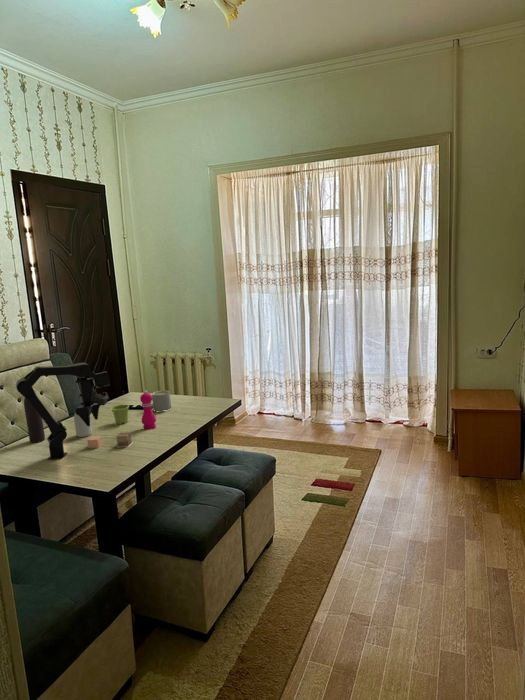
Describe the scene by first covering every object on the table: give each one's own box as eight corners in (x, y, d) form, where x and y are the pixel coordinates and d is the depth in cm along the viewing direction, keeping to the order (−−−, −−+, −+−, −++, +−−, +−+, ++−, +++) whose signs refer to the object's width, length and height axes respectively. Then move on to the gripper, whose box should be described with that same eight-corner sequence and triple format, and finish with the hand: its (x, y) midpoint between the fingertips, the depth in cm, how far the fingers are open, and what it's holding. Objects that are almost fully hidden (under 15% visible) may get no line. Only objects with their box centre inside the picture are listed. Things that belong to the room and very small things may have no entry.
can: (87, 437, 244) (83, 414, 242) (73, 437, 245) (70, 414, 243) (95, 432, 251) (92, 410, 249) (81, 432, 253) (78, 410, 251)
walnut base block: (128, 446, 224) (127, 435, 224) (117, 446, 225) (116, 436, 224) (132, 442, 229) (130, 432, 228) (121, 442, 230) (120, 432, 229)
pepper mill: (142, 431, 247) (138, 393, 244) (142, 427, 254) (137, 389, 251) (157, 429, 249) (153, 391, 245) (156, 425, 256) (152, 387, 252)
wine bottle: (48, 438, 248) (39, 380, 242) (38, 443, 241) (29, 383, 236) (36, 437, 250) (27, 380, 244) (26, 442, 243) (17, 384, 238)
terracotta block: (99, 450, 226) (97, 439, 225) (88, 450, 226) (87, 440, 225) (103, 446, 231) (102, 435, 230) (93, 446, 231) (91, 436, 230)
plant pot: (132, 423, 262) (130, 407, 261) (113, 426, 259) (111, 410, 257) (129, 418, 271) (128, 403, 269) (112, 421, 267) (110, 406, 266)
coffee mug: (174, 407, 287) (172, 390, 285) (166, 412, 277) (164, 395, 276) (154, 406, 291) (152, 390, 289) (145, 411, 282) (143, 395, 280)
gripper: (96, 394, 214) (102, 428, 217) (111, 383, 232) (116, 414, 235) (71, 396, 215) (77, 430, 218) (88, 385, 233) (93, 416, 236)
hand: (92, 422), depth 227 cm, fingers open, 9 cm apart
